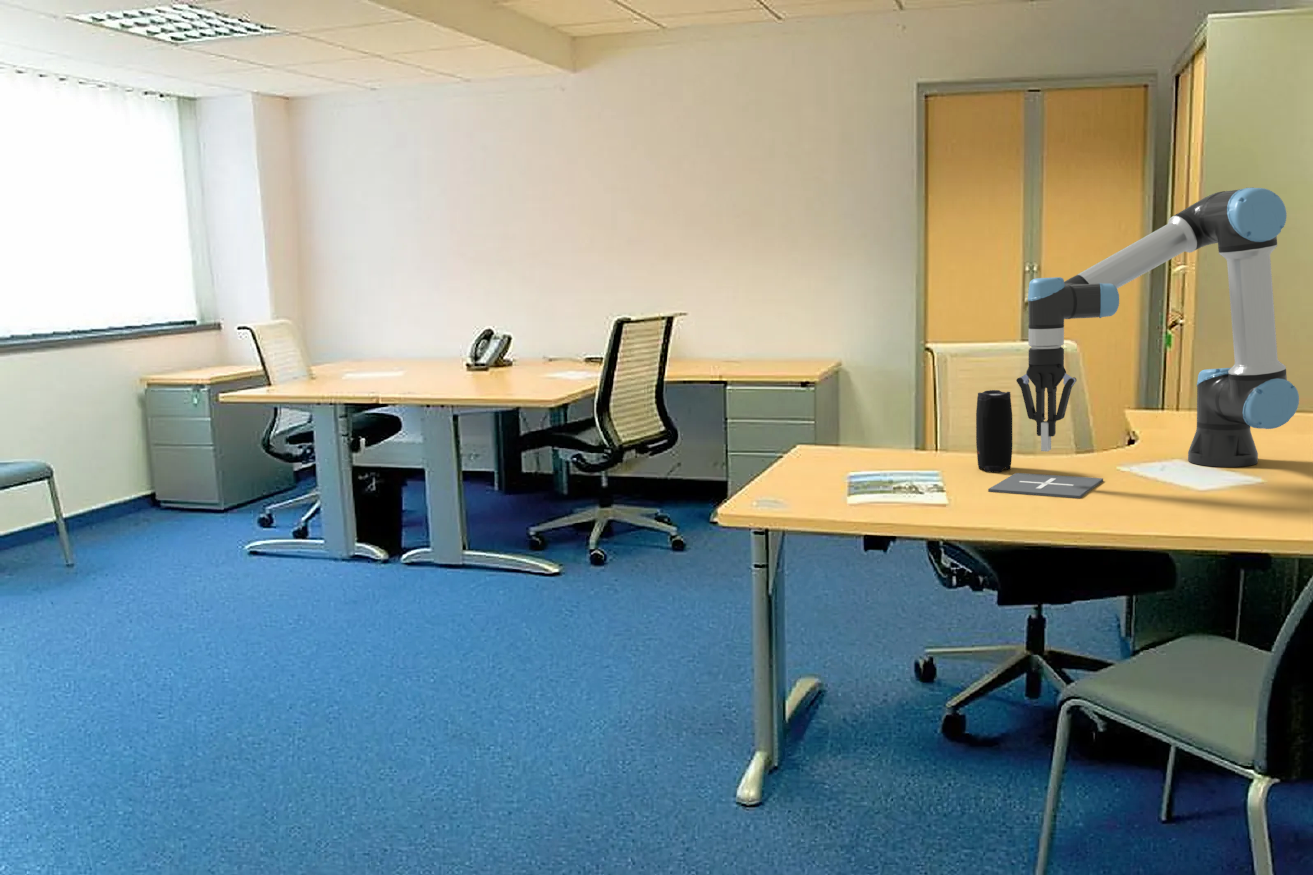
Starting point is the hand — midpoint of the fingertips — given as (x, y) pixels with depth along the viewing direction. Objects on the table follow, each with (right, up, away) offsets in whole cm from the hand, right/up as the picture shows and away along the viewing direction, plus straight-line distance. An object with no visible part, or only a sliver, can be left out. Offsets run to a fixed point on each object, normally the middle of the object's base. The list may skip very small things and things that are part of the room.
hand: (1046, 450), depth 248 cm
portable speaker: (-5, -5, +23) cm, 24 cm away
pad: (0, -8, +1) cm, 8 cm away
